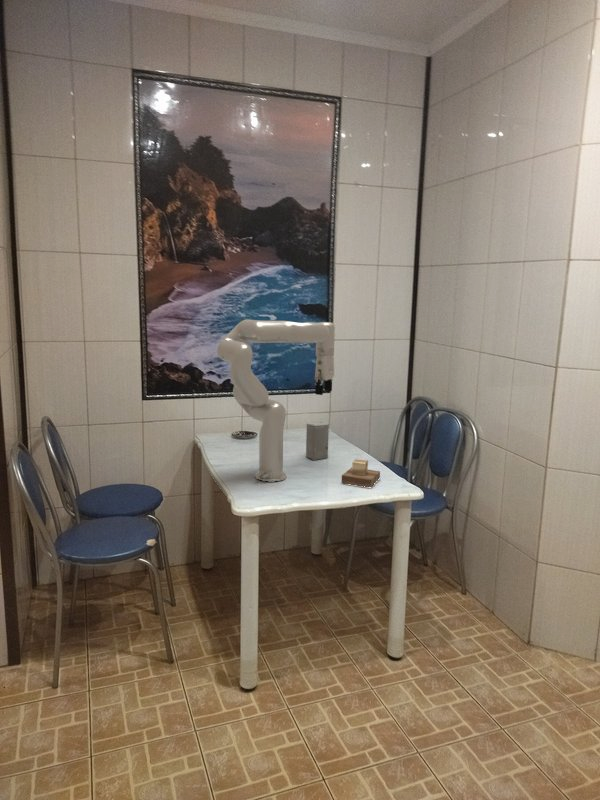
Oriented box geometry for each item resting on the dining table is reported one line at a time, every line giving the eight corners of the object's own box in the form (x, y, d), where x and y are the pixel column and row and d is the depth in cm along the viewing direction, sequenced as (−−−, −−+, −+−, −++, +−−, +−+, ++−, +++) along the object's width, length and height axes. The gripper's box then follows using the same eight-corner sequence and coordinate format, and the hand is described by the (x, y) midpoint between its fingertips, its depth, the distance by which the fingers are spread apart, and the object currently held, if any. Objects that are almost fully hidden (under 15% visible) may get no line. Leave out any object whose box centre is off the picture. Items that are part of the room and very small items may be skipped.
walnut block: (370, 490, 228) (371, 480, 228) (341, 485, 233) (341, 475, 232) (379, 480, 239) (380, 471, 238) (351, 476, 244) (351, 467, 243)
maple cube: (364, 475, 232) (364, 463, 231) (352, 474, 234) (352, 462, 233) (367, 472, 237) (368, 460, 236) (355, 470, 239) (355, 458, 238)
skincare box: (313, 460, 262) (314, 426, 259) (304, 456, 268) (305, 422, 264) (329, 458, 266) (330, 424, 263) (319, 454, 272) (320, 420, 269)
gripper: (325, 355, 236) (323, 397, 239) (340, 350, 251) (339, 390, 255) (308, 353, 239) (306, 395, 243) (324, 349, 255) (323, 388, 258)
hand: (323, 392), depth 249 cm, fingers open, 9 cm apart
